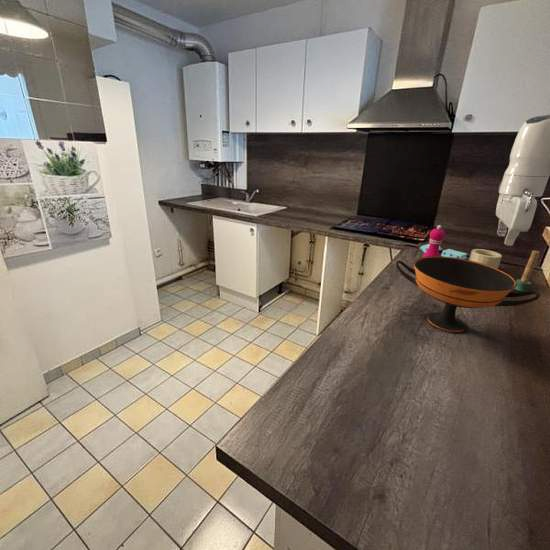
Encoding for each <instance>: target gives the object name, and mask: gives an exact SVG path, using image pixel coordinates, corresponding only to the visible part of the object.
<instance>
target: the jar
mask: <svg viewBox="0 0 550 550" xmlns="http://www.w3.org/2000/svg"><path fill="white" fill-rule="evenodd" d="M502 257H503V255H502V254H501V253H499V252H497V251H493V250H489V249H481V248H474V249H471V251H470V255H469V257H468V260H471V261H475V262H479V263H482V264H486V265H489V266H492V267H494V268H497V269H499V266H500V264H501V260H502Z"/></svg>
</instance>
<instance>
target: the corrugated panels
mask: <svg viewBox="0 0 550 550" xmlns="http://www.w3.org/2000/svg"><path fill="white" fill-rule="evenodd" d="M429 245H430V243H427V244H424V245H421V246H420V247H419V249H420V250H421V251H422V253H423V254H424V253H425V252H426V251H427V250H428V248H429ZM441 250H442V248H441V246H439V251H441ZM467 255H468V253H467V252H463V251H459V250H455V249H451V248H447V249H445V250H444V249H443V250H442V252H441V254H440V256H444V257H454V258H460V259H466V260H467V259H468V257H467Z"/></svg>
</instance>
